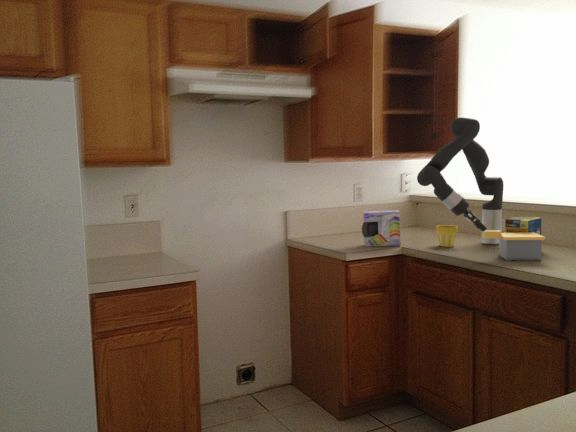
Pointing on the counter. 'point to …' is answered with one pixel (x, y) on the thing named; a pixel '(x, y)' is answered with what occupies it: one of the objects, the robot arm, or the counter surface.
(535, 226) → the protein box
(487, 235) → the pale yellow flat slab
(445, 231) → the plant pot
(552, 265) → the counter surface
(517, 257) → the tub
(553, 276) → the counter surface
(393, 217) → the cake pan box
